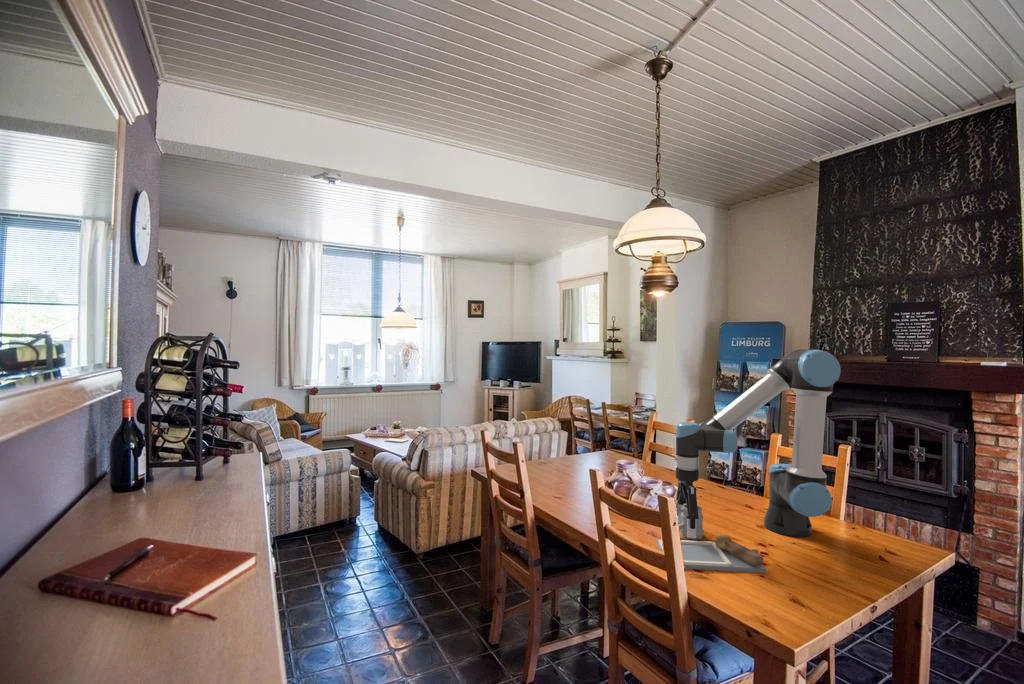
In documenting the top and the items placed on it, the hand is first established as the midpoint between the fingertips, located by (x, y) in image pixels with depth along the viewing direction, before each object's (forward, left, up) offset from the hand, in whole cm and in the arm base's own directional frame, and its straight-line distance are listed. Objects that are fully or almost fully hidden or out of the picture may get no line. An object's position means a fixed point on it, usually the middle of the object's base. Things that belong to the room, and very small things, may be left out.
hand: (686, 530), depth 166 cm
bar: (-11, +18, 0) cm, 21 cm away
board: (-2, +17, -2) cm, 17 cm away
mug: (0, 0, -2) cm, 2 cm away
